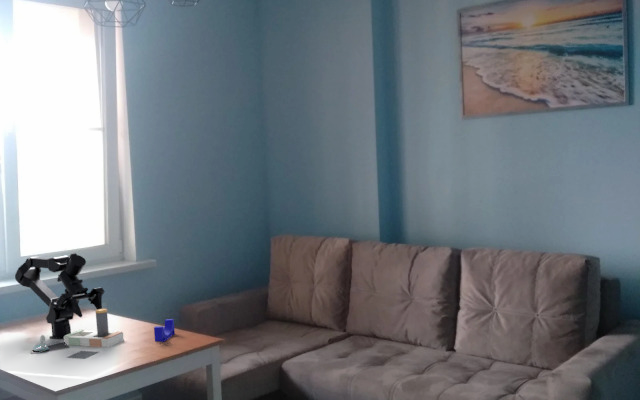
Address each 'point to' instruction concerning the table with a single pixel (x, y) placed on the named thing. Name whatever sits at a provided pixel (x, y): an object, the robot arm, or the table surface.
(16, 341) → the table surface
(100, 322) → the plug
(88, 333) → the socket panel
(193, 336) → the table surface
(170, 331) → the cable clip
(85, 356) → the mat
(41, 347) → the pacifier
